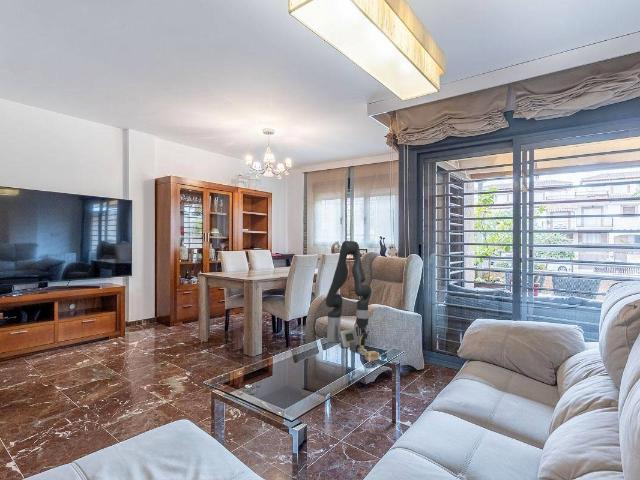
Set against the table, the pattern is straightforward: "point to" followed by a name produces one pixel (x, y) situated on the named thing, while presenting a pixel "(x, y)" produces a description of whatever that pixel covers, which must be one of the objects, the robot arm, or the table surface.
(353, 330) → the digital clock
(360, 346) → the tube
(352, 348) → the sleeve
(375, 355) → the tan block
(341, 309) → the robot arm
